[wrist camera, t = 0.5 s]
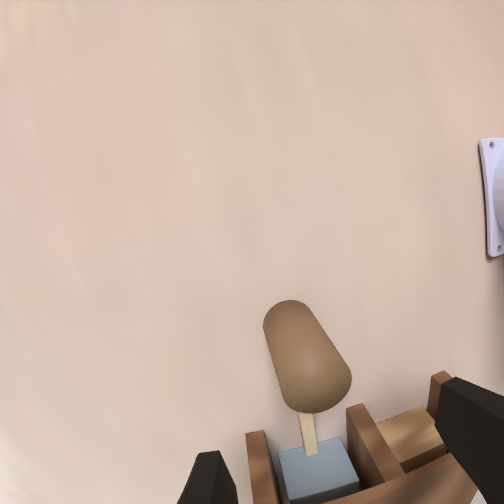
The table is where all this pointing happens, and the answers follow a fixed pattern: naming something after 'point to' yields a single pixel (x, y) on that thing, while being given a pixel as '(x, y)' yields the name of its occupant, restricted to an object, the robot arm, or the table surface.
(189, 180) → the table surface
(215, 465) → the robot arm
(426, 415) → the oak block
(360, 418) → the walnut shelf
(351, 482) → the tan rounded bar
